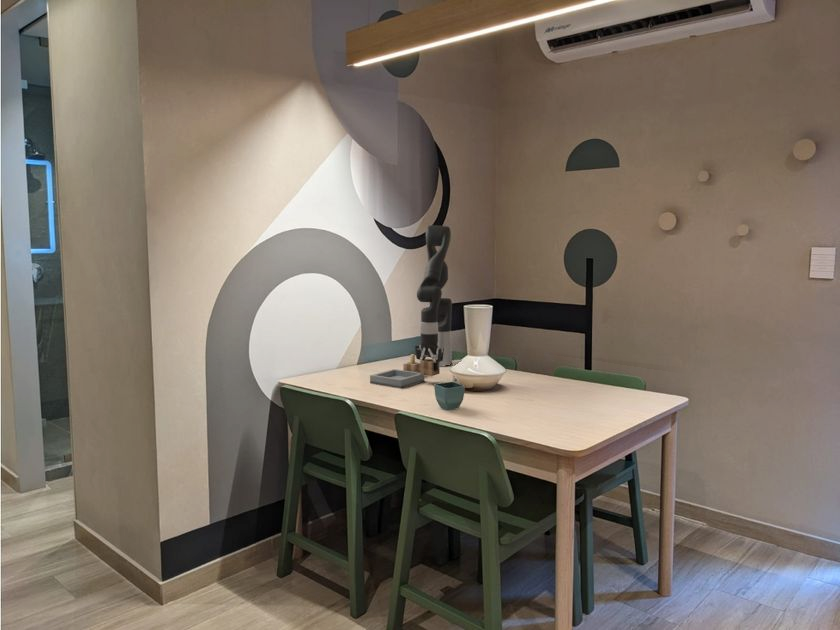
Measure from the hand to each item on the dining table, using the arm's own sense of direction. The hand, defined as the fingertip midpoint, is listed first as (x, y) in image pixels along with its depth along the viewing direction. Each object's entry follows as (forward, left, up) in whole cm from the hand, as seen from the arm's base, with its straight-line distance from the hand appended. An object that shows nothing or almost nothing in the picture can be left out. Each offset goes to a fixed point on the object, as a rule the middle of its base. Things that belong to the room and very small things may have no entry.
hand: (429, 370), depth 297 cm
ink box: (-2, +16, -6) cm, 17 cm away
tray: (+6, -13, -6) cm, 15 cm away
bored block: (0, 0, -2) cm, 2 cm away
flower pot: (+30, +30, -6) cm, 43 cm away
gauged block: (-8, -15, -6) cm, 18 cm away
